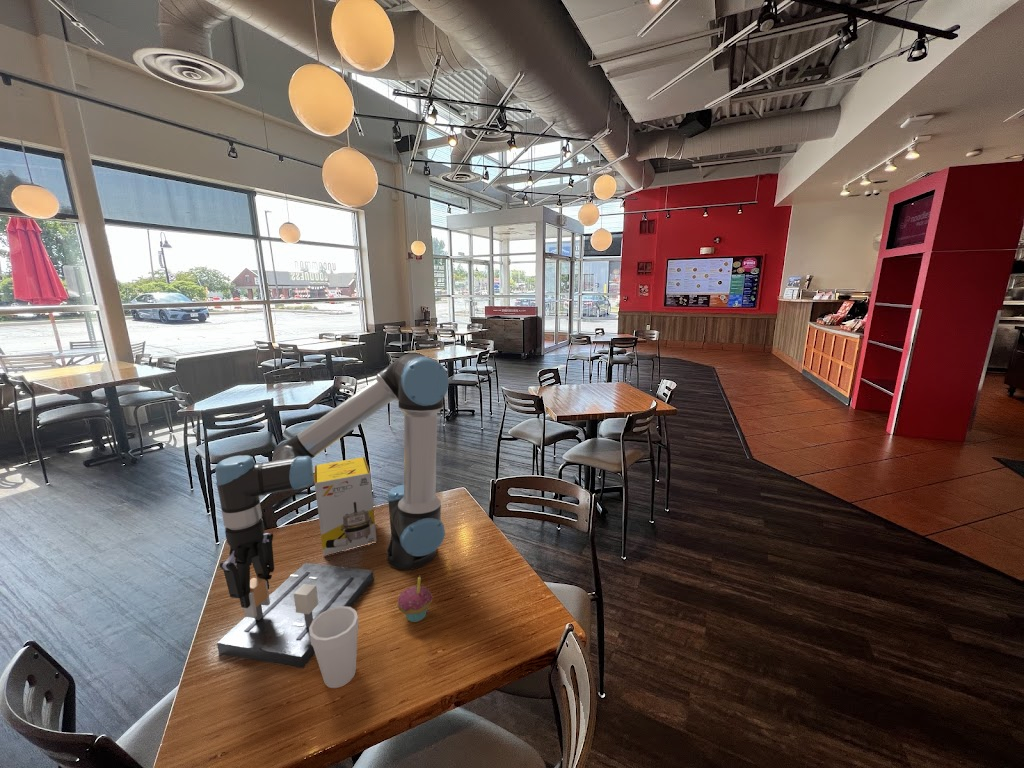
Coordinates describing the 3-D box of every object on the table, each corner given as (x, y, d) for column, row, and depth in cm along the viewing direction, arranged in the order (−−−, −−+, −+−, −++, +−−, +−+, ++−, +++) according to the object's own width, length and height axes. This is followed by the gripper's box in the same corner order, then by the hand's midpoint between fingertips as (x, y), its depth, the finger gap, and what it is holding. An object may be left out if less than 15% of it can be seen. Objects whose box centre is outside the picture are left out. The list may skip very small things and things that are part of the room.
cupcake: (439, 607, 108) (436, 566, 106) (421, 631, 100) (418, 588, 98) (410, 600, 111) (407, 560, 109) (391, 623, 103) (387, 580, 101)
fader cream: (320, 620, 100) (316, 585, 98) (311, 631, 97) (306, 595, 95) (308, 619, 101) (303, 583, 99) (298, 629, 97) (293, 593, 95)
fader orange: (270, 613, 103) (265, 579, 101) (259, 624, 99) (253, 588, 97) (258, 612, 103) (253, 577, 101) (247, 622, 100) (241, 586, 98)
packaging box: (323, 556, 131) (314, 483, 126) (322, 532, 146) (314, 465, 141) (376, 543, 138) (370, 473, 133) (370, 520, 152) (364, 456, 148)
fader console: (374, 579, 120) (373, 569, 119) (304, 668, 91) (302, 656, 90) (306, 571, 124) (304, 562, 123) (218, 653, 95) (216, 641, 94)
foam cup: (325, 658, 93) (319, 607, 91) (367, 654, 94) (362, 604, 92) (309, 697, 84) (301, 642, 82) (355, 693, 85) (349, 638, 82)
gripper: (257, 504, 105) (270, 585, 110) (197, 540, 89) (215, 634, 94) (283, 506, 104) (294, 589, 108) (227, 543, 88) (243, 638, 92)
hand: (257, 609), depth 101 cm, fingers closed on fader orange, 3 cm apart
